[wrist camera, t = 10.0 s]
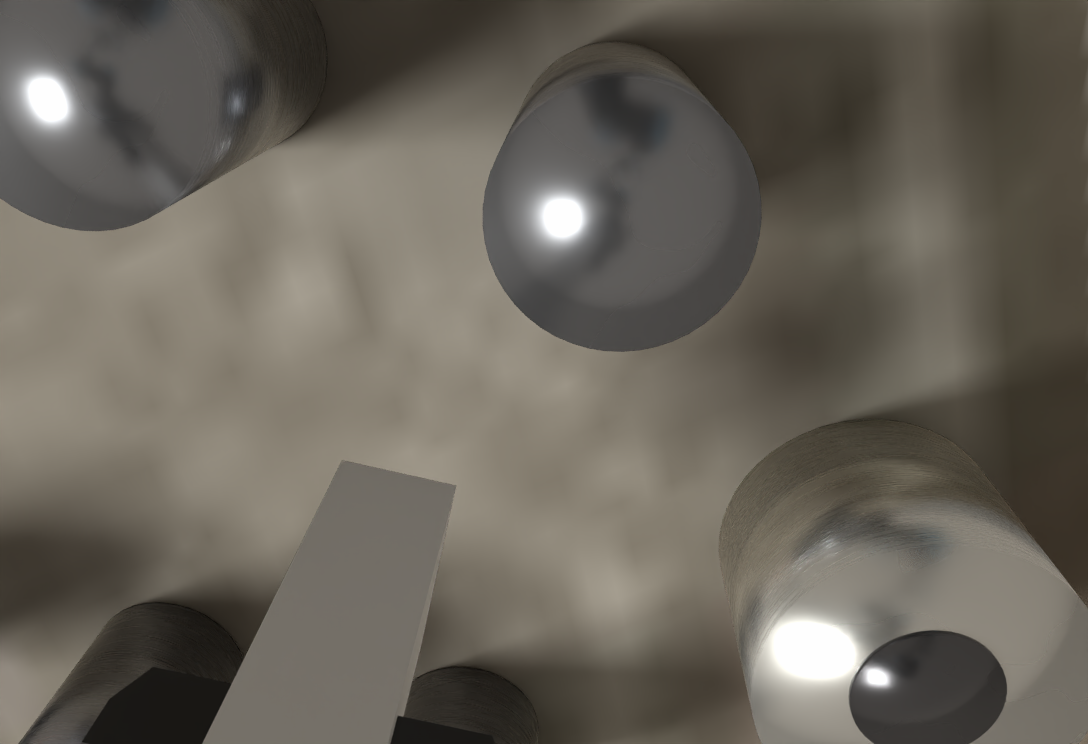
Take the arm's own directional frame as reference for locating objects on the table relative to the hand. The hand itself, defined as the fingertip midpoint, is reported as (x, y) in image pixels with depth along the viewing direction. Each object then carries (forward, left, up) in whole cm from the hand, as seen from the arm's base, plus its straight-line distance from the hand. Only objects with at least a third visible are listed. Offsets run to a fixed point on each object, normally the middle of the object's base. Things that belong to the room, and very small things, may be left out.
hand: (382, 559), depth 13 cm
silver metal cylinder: (+1, +8, -5) cm, 9 cm away
